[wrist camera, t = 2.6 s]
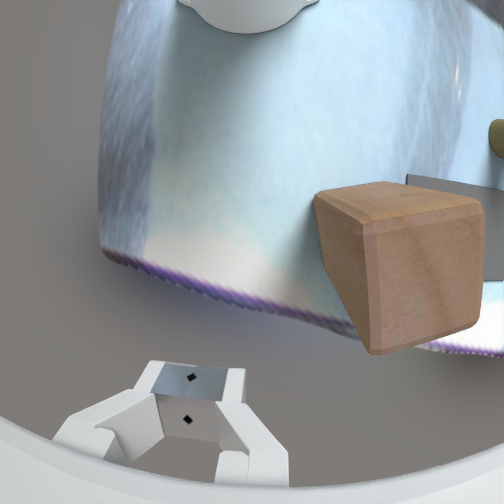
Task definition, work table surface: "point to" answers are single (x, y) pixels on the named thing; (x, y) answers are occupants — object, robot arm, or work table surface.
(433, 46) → the work table surface
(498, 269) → the mat
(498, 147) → the cork
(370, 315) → the wooden block
